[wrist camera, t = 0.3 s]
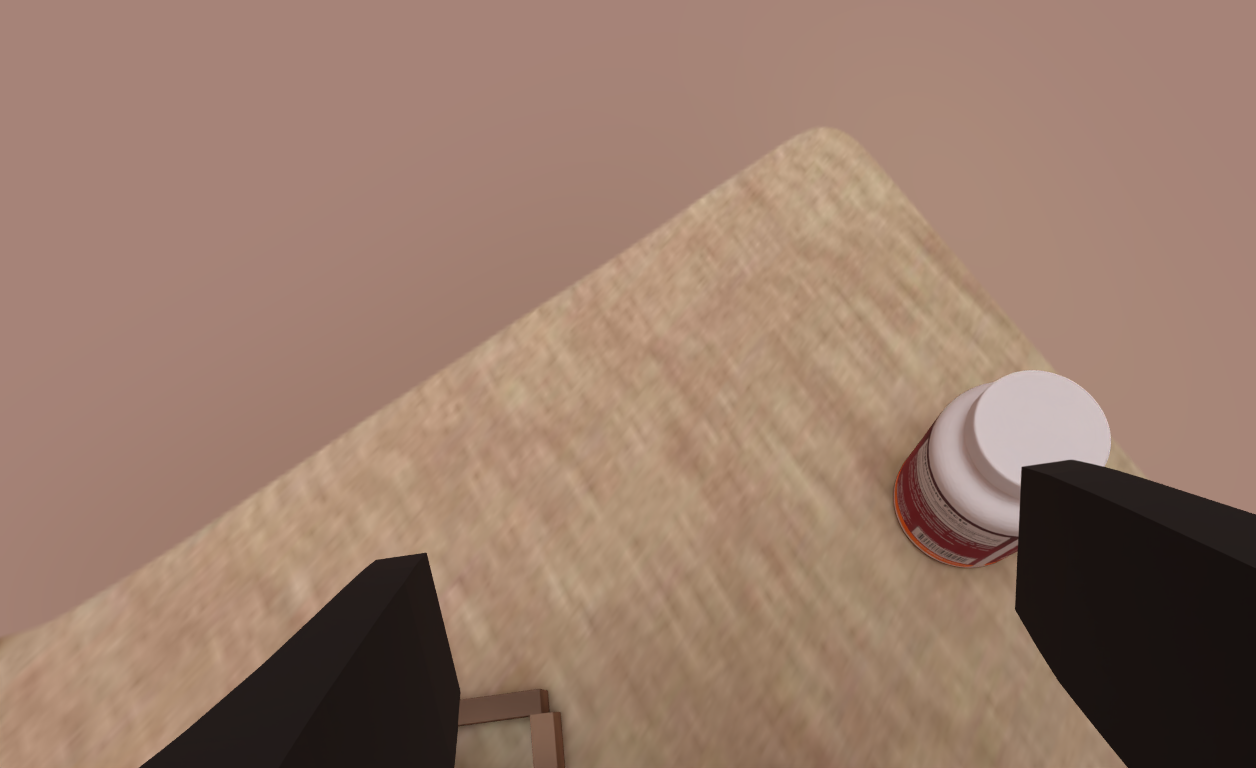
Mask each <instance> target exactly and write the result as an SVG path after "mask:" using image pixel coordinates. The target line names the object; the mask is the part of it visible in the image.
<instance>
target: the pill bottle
mask: <svg viewBox="0 0 1256 768" xmlns="http://www.w3.org/2000/svg"><path fill="white" fill-rule="evenodd" d="M1110 448H1111V435H1110V429H1109V425H1108V422H1107V419H1106V417H1105V415H1104V413H1103V411H1102V409H1101V407H1100V406H1099V404H1098V403H1097V402H1096V401H1095V400H1094V398H1093V397H1092V396H1091V395H1090V394H1089V393H1088V392H1086V390H1084V389H1083V388H1082V387H1081V386H1080V385H1078V384H1076V383H1075V382H1073V381H1071V380H1070V379H1068V378H1065V377H1063V376H1060V375H1058V374H1055V373H1051V372H1046V371H1037V370H1026V371H1019V372H1015V373H1011V374H1008V375H1006V376H1003V377H1002V378H1000V379H998V380H996V381H995V382H991V383H986V384H982V385H979V386H976V387H974V388H972V389H970V390H968V391H966V392H964V393H962V394H960V395H959V396H958V397H956V398H955V399H954V400H953V401H951V402H950V403H949V404H948V405H947V407H946V408H945V409H944V410H943V411H942V412H941V413H940V415H939V416H938V418H937V419H936V420H935V422H934V423H933V425H932V426H931V427H930V429H929V430H928V431H927V433H926V434H925V435H924V437H923V438H922V440H921V441H920V442H919V443H918V445H917V446H916V448H915V449H914V450H913V452H912V453H911V454H910V456H909V457H908V458H907V459H906V461H905V462H904V464H903V466H902V467H901V469H900V471H899V473H898V476H897V478H896V482H895V487H894V506H895V511H896V515H897V518H898V520H899V523H900V525H901V527H902V529H903V531H904V532H905V534H906V535H907V536H908V538H909V539H910V540H911V541H912V542H913V543H914V544H915V545H916V546H917V547H918V548H919V549H920V550H921V551H922V552H924V553H925V554H927V555H928V556H930V557H932V558H933V559H935V560H937V561H940V562H942V563H945V564H948V565H952V566H957V567H966V568H972V567H982V566H986V565H990V564H993V563H996V562H998V561H1000V560H1002V559H1004V558H1006V557H1008V556H1009V555H1011V554H1013V553H1015V552H1017V551H1018V534H1019V511H1020V489H1021V467H1023V466H1030V465H1037V464H1044V463H1051V462H1058V461H1064V460H1077V461H1081V462H1086V463H1091V464H1095V465H1099V466H1103V467H1104V466H1105V465H1106V463H1107V460H1108V457H1109V453H1110Z"/></svg>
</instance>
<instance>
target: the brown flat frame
mask: <svg viewBox="0 0 1256 768" xmlns="http://www.w3.org/2000/svg"><path fill="white" fill-rule="evenodd" d="M524 717H530V722H531V737H532V751H533V765H534V768H565V761H564V750H563V738H562V726H561V714H560V712H550V713H549V702H548V691H547V690H542V689H536V690H529V691H521V692H514V693H507V694H499V695H492V696H485V697H477V698H470V699H463V700H460V705H459V719H458V726H464V725H472V724H479V723H487V722H494V721H501V720H509V719H516V718H524Z"/></svg>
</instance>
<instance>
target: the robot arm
mask: <svg viewBox="0 0 1256 768" xmlns="http://www.w3.org/2000/svg"><path fill="white" fill-rule="evenodd" d="M1015 610H1016V612H1017V614H1018V615H1019V617H1020V619H1021V621H1022V622H1023V624H1024V626H1025V627H1026V629H1027V631H1028V633H1029V634H1030V636H1031V638H1032V639H1033V641H1034V643H1035V644H1036V646H1037V648H1038V650H1039V651H1040V653H1041V654H1042V656H1043V657H1044V659H1045V661H1046V662H1047V664H1048V665H1049V667H1050V668H1051V670H1052V672H1053V673H1054V675H1055V676H1056V678H1057V679H1058V681H1059V682H1060V684H1061V685H1062V686H1063V688H1064V689H1065V690H1066V691H1067V693H1068V694H1069V695H1070V697H1071V698H1072V699H1073V700H1074V702H1075V703H1076V704H1077V705H1078V707H1079V708H1080V709H1081V710H1082V712H1083V713H1084V714H1085V715H1086V717H1087V718H1088V719H1089V720H1090V722H1091V723H1092V724H1093V725H1094V727H1095V728H1096V729H1097V730H1098V732H1099V733H1100V734H1101V735H1102V737H1103V738H1104V739H1105V740H1106V742H1107V743H1108V744H1109V745H1110V746H1111V748H1112V749H1113V750H1114V751H1115V753H1116V754H1117V755H1118V756H1119V757H1120V759H1121V760H1122V761H1123V762H1124V764H1125V765H1126V766H1127V767H1128V768H1256V514H1252V513H1249V512H1246V511H1243V510H1240V509H1237V508H1233V507H1231V506H1227V505H1224V504H1221V503H1218V502H1215V501H1212V500H1209V499H1206V498H1203V497H1200V496H1197V495H1194V494H1190V493H1187V492H1184V491H1181V490H1178V489H1175V488H1172V487H1169V486H1165V485H1163V484H1159V483H1156V482H1153V481H1150V480H1147V479H1144V478H1141V477H1137V476H1134V475H1131V474H1127V473H1124V472H1121V471H1117V470H1114V469H1110V468H1106V467H1103V466H1099V465H1095V464H1091V463H1086V462H1081V461H1077V460H1064V461H1058V462H1051V463H1044V464H1037V465H1030V466H1023V467H1021V489H1020V511H1019V534H1018V556H1017V579H1016V601H1015ZM459 705H460V688H459V684H458V680H457V676H456V671H455V667H454V663H453V659H452V655H451V651H450V647H449V643H448V639H447V634H446V630H445V626H444V622H443V618H442V614H441V610H440V606H439V602H438V598H437V593H436V589H435V585H434V581H433V577H432V573H431V569H430V565H429V561H428V557H427V553H421V554H414V555H407V556H400V557H393V558H386V559H380V560H375V561H374V562H373V563H371V564H370V565H369V566H368V567H366V568H365V569H364V570H363V571H362V572H361V573H360V574H358V575H357V576H356V577H355V578H354V579H353V580H352V581H351V582H350V583H349V584H348V585H346V586H345V587H344V588H343V589H342V590H341V591H340V592H339V593H338V594H337V595H336V596H335V597H334V598H333V599H332V600H331V601H330V602H328V603H327V604H326V605H325V606H324V607H323V608H322V609H321V610H320V611H319V612H318V613H317V614H316V615H315V616H314V617H313V618H312V619H311V620H310V621H309V622H307V623H306V624H305V625H304V626H303V627H302V628H301V629H300V630H299V631H298V632H297V633H296V634H295V635H294V636H293V637H291V638H290V639H289V640H288V641H287V642H286V643H285V644H284V645H283V646H282V647H281V648H280V649H279V650H278V651H277V652H275V653H274V654H273V655H272V656H271V657H270V658H269V659H268V660H267V661H266V662H265V663H264V664H262V665H261V666H260V667H259V668H258V669H257V670H256V671H255V672H253V673H252V674H251V675H250V676H249V677H248V678H246V679H245V680H244V681H243V682H242V683H241V684H239V685H238V686H237V687H236V688H235V689H234V690H233V691H231V692H230V693H229V694H228V695H227V696H226V697H224V698H223V699H222V700H221V701H220V702H219V703H217V704H216V705H215V706H214V707H213V708H212V709H210V710H209V711H208V712H207V713H206V714H205V715H204V716H202V717H201V718H200V719H199V720H198V721H197V722H195V723H194V724H193V725H192V726H191V727H190V728H188V729H187V730H186V731H185V732H184V733H182V734H181V735H180V736H179V737H177V738H176V739H175V740H174V741H172V742H171V743H170V744H169V745H168V746H166V747H165V748H164V749H162V750H161V751H160V752H159V753H157V754H156V755H155V756H153V757H152V758H151V759H150V760H148V761H147V762H146V763H144V764H143V765H142V766H141V767H139V768H454V765H455V754H456V744H457V732H458V719H459Z"/></svg>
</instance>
